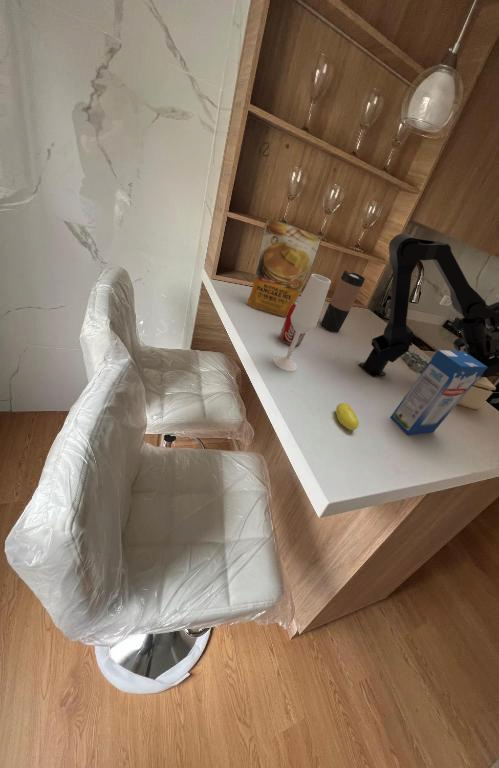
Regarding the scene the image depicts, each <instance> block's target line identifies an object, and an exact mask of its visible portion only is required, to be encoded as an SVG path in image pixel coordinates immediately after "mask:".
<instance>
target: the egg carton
mask: <svg viewBox="0 0 499 768" xmlns="http://www.w3.org/2000/svg"><path fill="white" fill-rule="evenodd" d="M400 357H401V359H402V360H405V363H406V364H407V365H409V366H410V369H412V371H415V372H417V373H420V372H421V373H422V372H423V370H424V369H425V367H426V366H427V365H428V363H429V362H430V360H426V359H425V358H424V357H423V356H422V355H420V354H419V353H418V352H415V350H411V349H409V350H408V352H406V353H405V354H403V355H401V356H400ZM416 362H417V363H416Z"/></svg>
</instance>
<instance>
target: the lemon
mask: <svg viewBox="0 0 499 768" xmlns="http://www.w3.org/2000/svg"><path fill="white" fill-rule="evenodd" d="M335 411H336V417H337V419H338V422H339V423H340V425H342V426H343V427H344V428H346V429H347V430H350V431H354V430H357V429H358V427H359V425H360V421H359V419H358V417H357V415H356V413H355V411H354V410H353V409H352V407H351V406H350V404H349V403H346V402H345V403H344V402H343V403H339V404H337V405H336V408H335Z"/></svg>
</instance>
